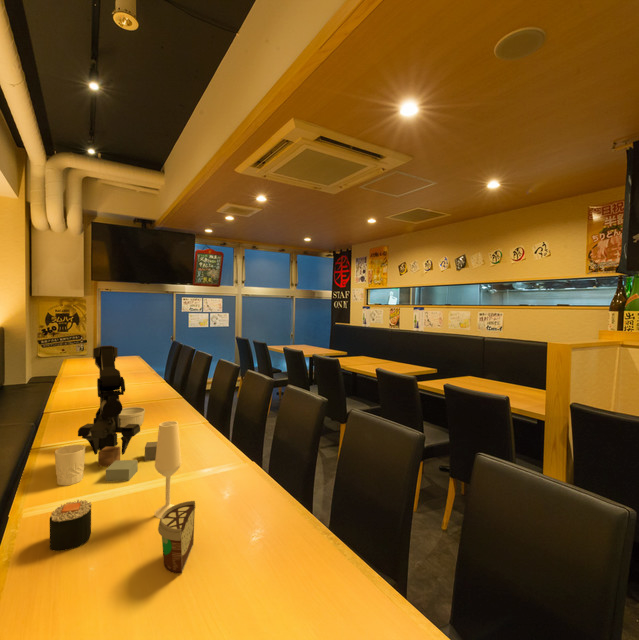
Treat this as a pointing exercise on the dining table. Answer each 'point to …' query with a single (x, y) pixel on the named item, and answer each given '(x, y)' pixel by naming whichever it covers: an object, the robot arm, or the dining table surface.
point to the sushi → (70, 525)
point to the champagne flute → (167, 457)
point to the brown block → (150, 451)
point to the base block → (121, 470)
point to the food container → (177, 535)
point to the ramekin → (132, 416)
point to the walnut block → (108, 456)
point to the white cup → (69, 464)
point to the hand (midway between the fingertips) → (109, 454)
